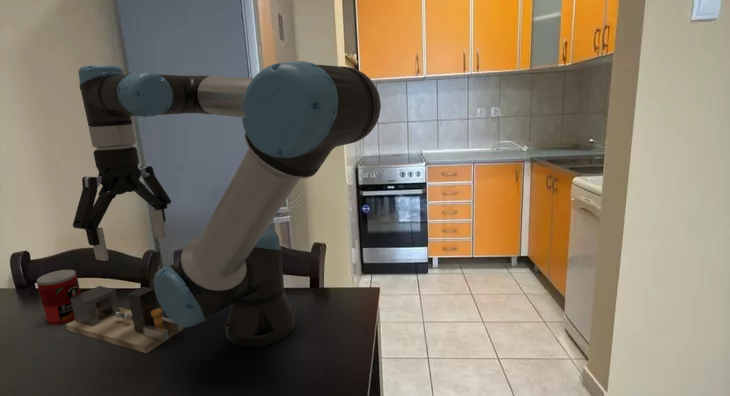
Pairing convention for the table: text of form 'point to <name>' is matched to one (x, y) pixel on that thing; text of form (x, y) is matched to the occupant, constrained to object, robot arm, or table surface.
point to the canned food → (58, 295)
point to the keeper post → (157, 317)
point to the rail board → (118, 332)
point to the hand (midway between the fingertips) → (133, 247)
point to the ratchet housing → (86, 304)
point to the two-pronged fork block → (146, 314)
